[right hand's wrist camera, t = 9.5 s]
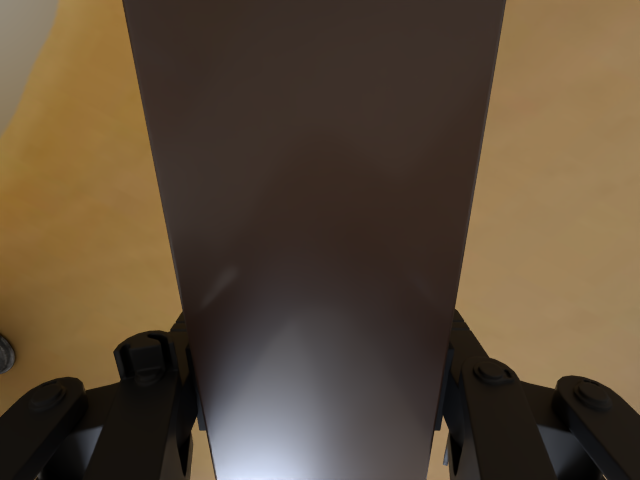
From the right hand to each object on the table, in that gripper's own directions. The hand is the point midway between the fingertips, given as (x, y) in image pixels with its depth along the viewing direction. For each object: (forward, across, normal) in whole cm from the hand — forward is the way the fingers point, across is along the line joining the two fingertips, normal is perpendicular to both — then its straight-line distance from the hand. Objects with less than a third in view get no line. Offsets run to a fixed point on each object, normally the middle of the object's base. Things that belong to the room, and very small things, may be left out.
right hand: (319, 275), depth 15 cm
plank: (0, 0, -11) cm, 11 cm away
